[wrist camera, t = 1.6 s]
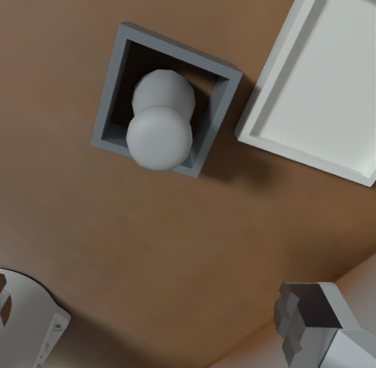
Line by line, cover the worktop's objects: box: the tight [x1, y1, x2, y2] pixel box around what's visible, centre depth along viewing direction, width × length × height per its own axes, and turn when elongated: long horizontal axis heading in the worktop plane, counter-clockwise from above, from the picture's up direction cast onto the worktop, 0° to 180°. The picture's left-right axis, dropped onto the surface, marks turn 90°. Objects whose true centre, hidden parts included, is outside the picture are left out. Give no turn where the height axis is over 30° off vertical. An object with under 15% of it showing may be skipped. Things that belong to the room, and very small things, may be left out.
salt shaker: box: [126, 70, 195, 172], centre depth 25 cm, size 6×6×13 cm
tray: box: [234, 0, 376, 187], centre depth 30 cm, size 16×16×2 cm
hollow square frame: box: [90, 21, 243, 178], centre depth 29 cm, size 10×10×5 cm
